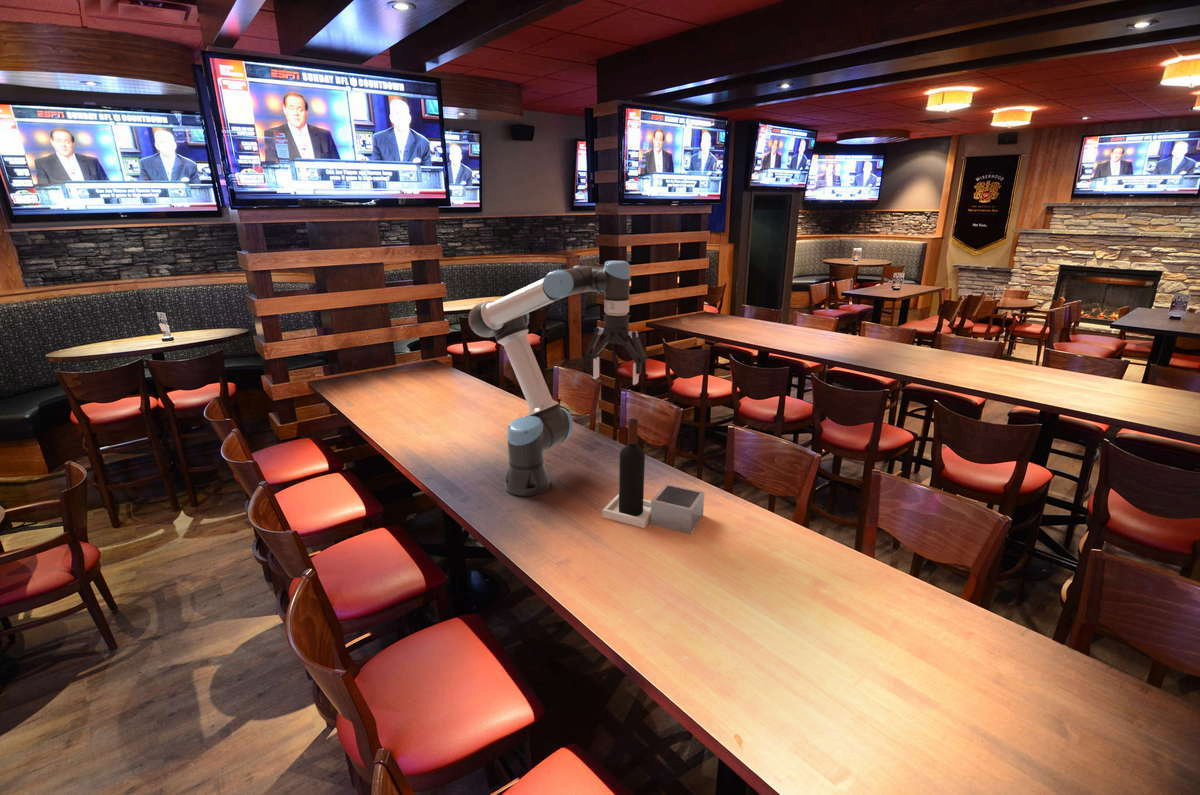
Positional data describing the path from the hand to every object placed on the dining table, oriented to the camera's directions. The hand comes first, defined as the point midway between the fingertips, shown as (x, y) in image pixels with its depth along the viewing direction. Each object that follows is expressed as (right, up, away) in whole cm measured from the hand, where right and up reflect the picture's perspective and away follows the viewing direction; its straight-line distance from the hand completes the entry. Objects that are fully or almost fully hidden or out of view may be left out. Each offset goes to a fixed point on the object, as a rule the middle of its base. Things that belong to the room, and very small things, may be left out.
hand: (615, 380), depth 181 cm
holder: (+19, -43, -5) cm, 47 cm away
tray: (+5, -41, -2) cm, 42 cm away
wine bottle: (+5, -41, -2) cm, 41 cm away
